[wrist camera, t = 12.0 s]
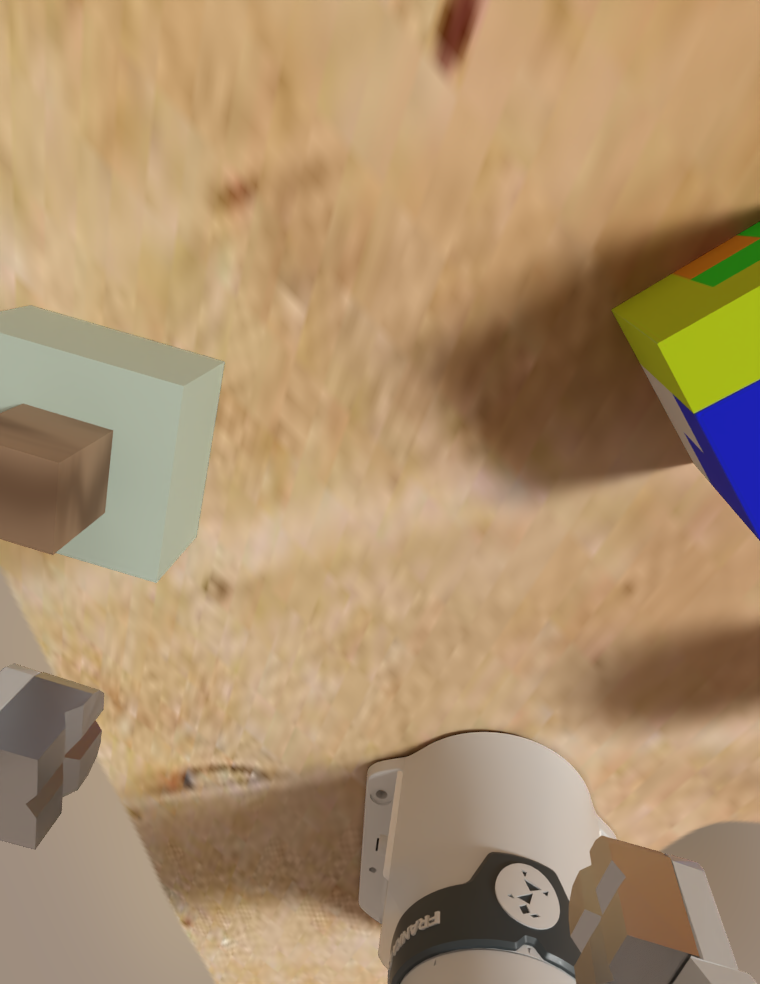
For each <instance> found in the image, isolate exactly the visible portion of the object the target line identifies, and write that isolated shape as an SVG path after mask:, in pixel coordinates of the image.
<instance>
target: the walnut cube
mask: <svg viewBox="0 0 760 984" xmlns="http://www.w3.org/2000/svg"><path fill="white" fill-rule="evenodd" d="M112 439H113V430H110V429H107V428H104V427H100V426H97V425H94V424H90V423H87V422H84V421H80V420H77V419H74V418H70V417H67V416H64V415H60V414H57V413H53V412H50V411H47V410H43V409H40V408H37V407H33V406H30V405H27V404H21V405H18V406H16V407H14V408H11V409H9V410H7V411H4V412H2V413H0V539H2V540H5V541H9V542H12V543H15V544H19V545H22V546H25V547H28V548H32V549H35V550H38V551H42V552H45V553H48V554H52V555H53V554H55V553H56V552H57V551H58V550H60V549H61V548H62V547H63V546H65V545H66V544H67V543H68V542H70V541H71V540H72V539H73V538H74V537H76V536H77V535H78V534H79V533H81V532H82V531H83V530H84V529H86V528H87V527H88V526H89V525H91V524H92V523H93V522H94V521H96V520H97V519H98V518H99V517H100V516H102V515H103V514H104V513H105V508H106V498H107V488H108V478H109V468H110V459H111V449H112Z"/></svg>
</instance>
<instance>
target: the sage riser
mask: <svg viewBox="0 0 760 984" xmlns="http://www.w3.org/2000/svg"><path fill="white" fill-rule="evenodd" d="M224 364H225V362H224V361H221V360H217V359H214V358H210V357H207V356H203V355H200V354H196V353H193V352H190V351H186V350H183V349H179V348H176V347H172V346H169V345H165V344H162V343H158V342H155V341H152V340H148V339H145V338H141V337H138V336H134V335H131V334H127V333H124V332H121V331H117V330H114V329H110V328H107V327H103V326H100V325H96V324H93V323H90V322H86V321H83V320H79V319H76V318H72V317H69V316H65V315H62V314H58V313H55V312H52V311H48V310H45V309H41V308H38V307H34V306H31V305H30V306H25V307H20V308H15V309H11V310H6V311H1V312H0V413H2V412H4V411H7V410H9V409H11V408H14V407H16V406H18V405H21V404H27V405H30V406H33V407H37V408H40V409H43V410H47V411H50V412H53V413H57V414H60V415H64V416H67V417H70V418H74V419H77V420H80V421H84V422H87V423H90V424H94V425H97V426H100V427H104V428H107V429H110V430H113V439H112V449H111V459H110V468H109V478H108V488H107V498H106V508H105V513H104V514H103V515H102V516H100V517H99V518H98V519H97V520H96V521H94V522H93V523H92V524H91V525H89V526H88V527H87V528H86V529H84V530H83V531H82V532H81V533H79V534H78V535H77V536H76V537H74V538H73V539H72V540H71V541H70V542H68V543H67V544H66V545H65V546H63V547H62V548H61V549H60V550H58V551H57V552H56V553H58V554H61V555H65V556H68V557H71V558H75V559H78V560H81V561H85V562H88V563H91V564H95V565H98V566H101V567H105V568H108V569H111V570H115V571H118V572H122V573H125V574H128V575H132V576H135V577H138V578H142V579H145V580H148V581H152V582H155V583H157V582H158V581H159V580H160V578H161V577H162V576H163V575H164V574H165V573H166V571H167V570H168V569H169V568H170V567H171V566H172V564H173V563H174V562H175V561H176V560H177V559H178V558H179V556H180V555H181V554H182V553H183V552H184V551H185V549H186V548H187V547H188V546H189V545H190V544H191V543H192V541H193V540H194V539H195V538H196V537H197V530H198V524H199V518H200V512H201V506H202V500H203V493H204V487H205V481H206V475H207V469H208V462H209V456H210V450H211V444H212V438H213V432H214V425H215V419H216V413H217V407H218V401H219V394H220V388H221V382H222V376H223V370H224Z"/></svg>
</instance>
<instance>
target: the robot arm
mask: <svg viewBox="0 0 760 984" xmlns="http://www.w3.org/2000/svg"><path fill="white" fill-rule="evenodd" d="M103 707H104V693H103V692H101V691H100V690H98V689H95V688H92V687H88V686H85V685H82V684H79V683H76V682H73V681H70V680H66V679H63V678H60V677H57V676H54V675H50V674H48V673H44V672H43V673H42V672H39V671H36V670H33V669H30V668H27V667H24V666H21V665H18V664H12V665H9V666H7V667H5V668H3V669H2V670H1V671H0V840H2V841H5V842H9V843H12V844H16V845H20V846H23V847H27V848H31V849H36V847H37V846H38V845H39V844H40V842H41V841H42V839H43V838H44V837H45V835H46V834H47V832H48V831H49V829H50V828H51V827H52V825H53V824H54V823H55V821H56V820H57V818H58V817H59V816H60V814H61V811H62V797H64V796H66V795H68V794H70V793H72V792H74V791H76V790H78V789H79V787H80V786H81V784H82V783H83V782H84V780H85V779H86V777H87V776H88V774H89V772H90V770H91V767H92V765H93V763H94V761H95V759H96V757H97V754H98V750H99V746H100V742H101V733H102V730H101V729H100V727H99V725H98V724H97V722H96V719H97V717H98V716H99V715H100V713H101V712H102V711H103ZM381 790H383V791H381ZM359 906H360V907H361V909H362V910H364V911H365V912H366V913H367V914H368V915H369V916H370V917H372V918H373V919H374V920H376V921H378V922H379V923H381V924H382V926H381V934H380V941H379V949H378V956H379V958H380V960H381V962H382V963H383V965H384V966H385V967H386V968H387V969H388V984H757V982H756V981H755V980H754V979H753V978H752V977H751V976H750V974H749V973H746V972H743V971H740V970H739V969H738V967H737V964H736V961H735V958H734V955H733V952H732V950H731V946H730V944H729V941H728V938H727V935H726V932H725V929H724V926H723V924H722V921H721V918H720V915H719V912H718V909H717V906H716V903H715V900H714V898H713V895H712V892H711V889H710V886H709V884H708V880H707V877H706V874H705V872H704V870H703V868H702V867H701V865H700V864H699V863H698V862H695V861H691V860H688V859H684V858H680V857H676V856H673V855H669V854H666V853H665V854H663V853H662V852H659V851H656V850H652V849H648V848H645V847H641V846H638V845H634V844H630V843H627V842H623V841H620V840H617V839H616V836H615V834H614V833H613V831H612V830H611V829H610V828H609V826H608V825H607V824H606V823H605V822H604V821H603V820H602V819H601V818H600V817H599V816H598V815H597V814H596V812H595V809H594V807H593V804H592V800H591V797H590V793H589V791H588V788H587V786H586V784H585V782H584V781H583V779H582V777H581V776H580V775H579V773H578V772H577V771H576V770H575V769H574V767H573V766H572V765H571V764H570V763H569V762H567V761H566V760H565V759H564V758H563V757H561V756H560V755H559V754H557V753H556V752H554V751H552V750H551V749H549V748H547V747H545V746H543V745H541V744H539V743H537V742H534V741H532V740H529V739H526V738H523V737H519V736H515V735H510V734H504V733H496V732H473V733H464V734H459V735H454V736H450V737H447V738H444V739H441V740H439V741H436V742H434V743H432V744H430V745H428V746H426V747H425V748H423V749H421V750H419V751H418V752H416V753H414V754H412V755H410V756H407V757H403V758H396V759H389V760H384V761H380V762H377V763H375V764H373V765H371V766H370V767H369V769H368V772H367V782H366V796H365V811H364V826H363V840H362V855H361V869H360V884H359Z"/></svg>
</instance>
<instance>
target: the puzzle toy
mask: <svg viewBox="0 0 760 984" xmlns="http://www.w3.org/2000/svg"><path fill="white" fill-rule="evenodd" d="M612 312H613V314H614V316H615V318H616V320H617V322H618V323H619V325H620V327H621V329H622V331H623V333H624V335H625V336H626V338H627V340H628V342H629V344H630V346H631V348H632V350H633V351H634V353H635V355H636V357H637V359H638V361H639V363H640V364H641V366H642V368H643V370H644V372H645V374H646V376H647V378H648V379H649V381H650V383H651V385H652V387H653V389H654V391H655V392H656V394H657V396H658V398H659V400H660V402H661V404H662V406H663V407H664V409H665V411H666V413H667V415H668V417H669V419H670V421H671V422H672V424H673V426H674V428H675V430H676V432H677V434H678V435H679V437H680V439H681V441H682V443H683V445H684V447H685V449H686V450H687V452H688V454H689V456H690V458H691V460H692V462H693V463H694V464H695V466H696V467H697V468H698V469H699V470H700V471H701V473H702V474H703V475H704V476H705V477H706V478H707V480H708V481H709V482H710V483H711V484H712V485H713V487H714V488H715V489H716V490H717V491H718V492H719V494H720V495H721V496H722V497H723V498H724V499H725V501H726V502H727V503H728V504H729V505H730V506H731V508H732V509H733V510H734V511H735V512H736V513H737V515H738V516H739V517H740V518H741V519H742V520H743V522H744V523H745V524H746V525H747V526H748V527H749V529H750V530H751V531H752V532H753V533H754V534H755V536H756V537H757V538H758V539H759V540H760V222H758V223H756V224H755V225H753V226H751V227H750V228H748V229H746V230H745V231H743V232H741V233H739V234H738V235H736V236H734V237H733V238H731V239H729V240H728V241H726V242H724V243H723V244H721V245H719V246H718V247H716V248H714V249H713V250H711V251H709V252H708V253H706V254H704V255H702V256H701V257H699V258H697V259H696V260H694V261H692V262H691V263H689V264H687V265H686V266H684V267H682V268H681V269H679V270H677V271H676V272H674V273H672V274H671V275H669V276H667V277H665V278H664V279H662V280H660V281H659V282H657V283H655V284H654V285H652V286H650V287H649V288H647V289H645V290H644V291H642V292H640V293H639V294H637V295H635V296H634V297H632V298H630V299H628V300H627V301H625V302H623V303H622V304H620V305H618V306H617V307H615V308H613V309H612Z"/></svg>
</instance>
